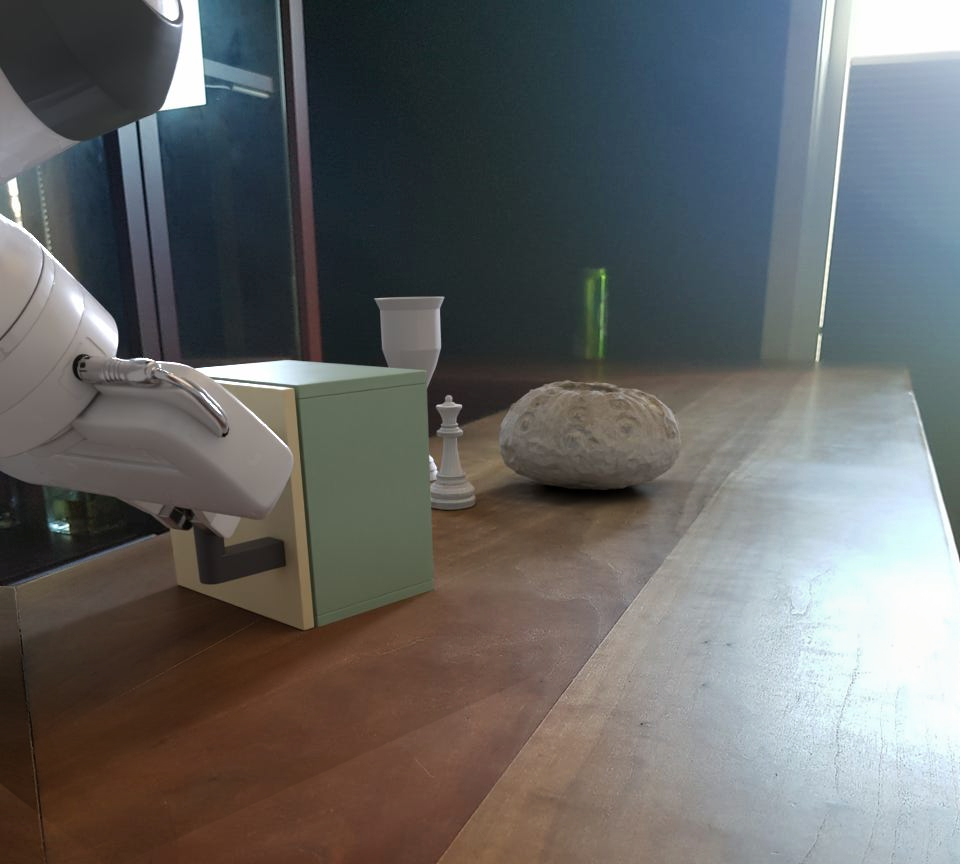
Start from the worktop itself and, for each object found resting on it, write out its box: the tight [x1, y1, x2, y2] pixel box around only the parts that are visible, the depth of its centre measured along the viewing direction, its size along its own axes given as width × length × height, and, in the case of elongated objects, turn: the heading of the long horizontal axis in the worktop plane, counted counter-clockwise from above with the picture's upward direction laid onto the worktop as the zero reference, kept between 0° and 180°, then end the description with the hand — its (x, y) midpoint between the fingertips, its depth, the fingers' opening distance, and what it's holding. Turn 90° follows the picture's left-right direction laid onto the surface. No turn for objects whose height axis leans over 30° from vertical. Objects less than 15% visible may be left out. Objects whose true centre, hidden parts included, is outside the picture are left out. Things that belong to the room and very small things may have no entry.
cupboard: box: [195, 359, 435, 628], centre depth 66 cm, size 10×15×15 cm
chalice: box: [374, 296, 445, 482], centre depth 101 cm, size 7×7×18 cm
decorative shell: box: [498, 379, 682, 491], centre depth 96 cm, size 18×18×10 cm
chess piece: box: [430, 394, 476, 511], centre depth 90 cm, size 4×4×10 cm
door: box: [169, 380, 315, 631], centre depth 60 cm, size 6×15×14 cm, turn 47°
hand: (206, 523), depth 55 cm, fingers closed, pressing on door
